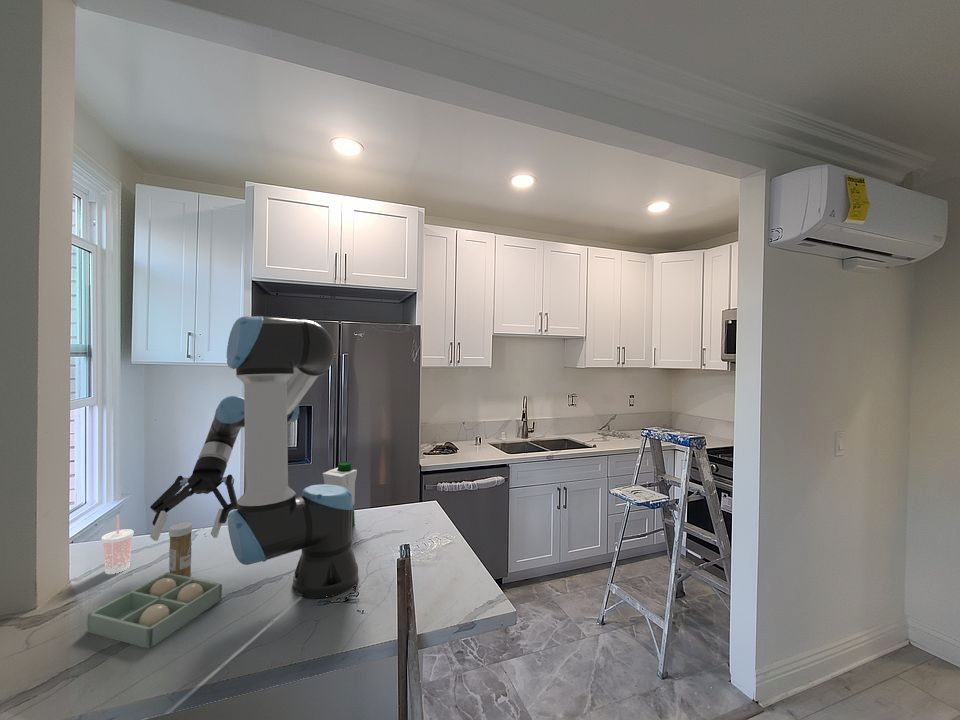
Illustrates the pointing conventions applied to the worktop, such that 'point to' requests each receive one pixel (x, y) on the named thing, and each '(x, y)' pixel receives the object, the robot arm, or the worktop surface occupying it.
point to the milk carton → (342, 479)
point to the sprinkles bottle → (180, 549)
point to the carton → (126, 610)
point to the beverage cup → (117, 549)
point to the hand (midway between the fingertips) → (184, 537)
